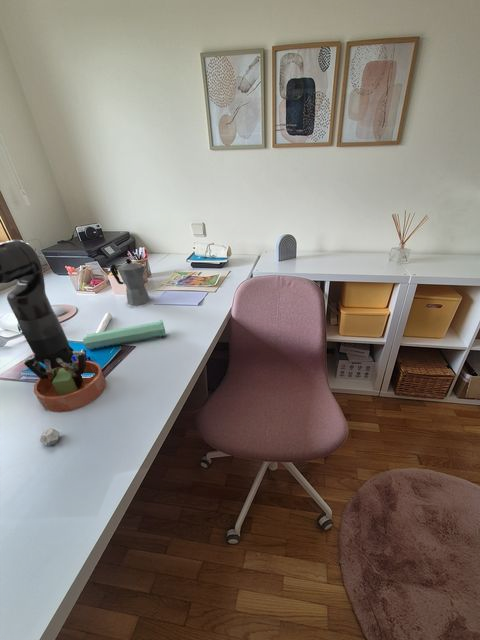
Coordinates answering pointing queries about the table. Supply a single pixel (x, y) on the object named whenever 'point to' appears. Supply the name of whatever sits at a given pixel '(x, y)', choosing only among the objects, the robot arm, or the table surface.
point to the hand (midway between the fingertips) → (70, 386)
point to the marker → (104, 323)
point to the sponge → (64, 382)
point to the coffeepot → (132, 281)
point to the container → (124, 335)
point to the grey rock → (49, 436)
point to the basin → (75, 400)
